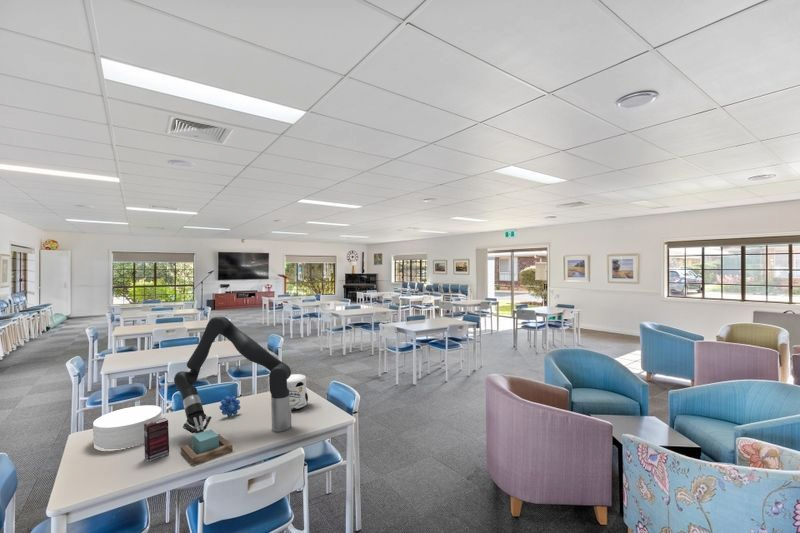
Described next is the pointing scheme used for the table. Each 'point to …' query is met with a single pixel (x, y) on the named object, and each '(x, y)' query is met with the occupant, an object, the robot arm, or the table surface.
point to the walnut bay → (196, 459)
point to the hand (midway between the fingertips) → (201, 438)
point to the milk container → (297, 391)
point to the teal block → (205, 441)
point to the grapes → (230, 406)
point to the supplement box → (156, 439)
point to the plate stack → (124, 426)
